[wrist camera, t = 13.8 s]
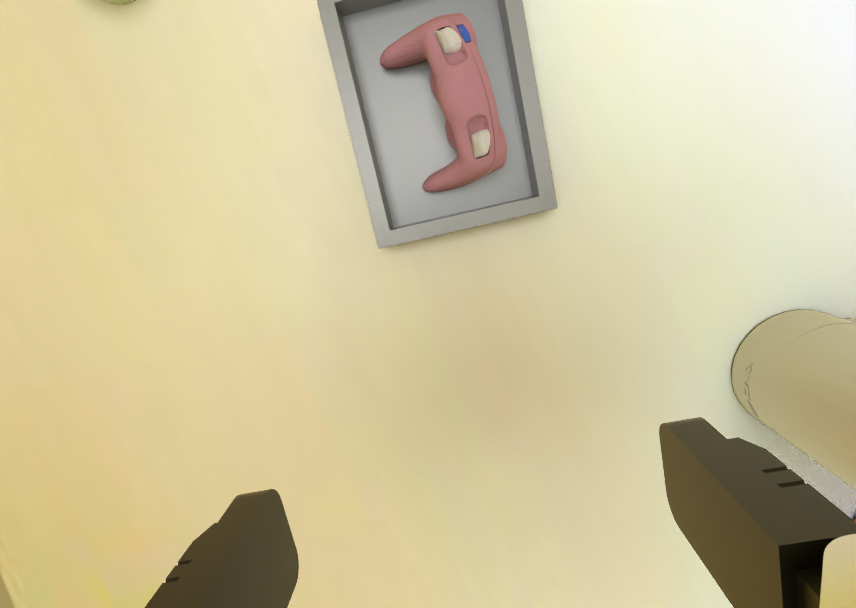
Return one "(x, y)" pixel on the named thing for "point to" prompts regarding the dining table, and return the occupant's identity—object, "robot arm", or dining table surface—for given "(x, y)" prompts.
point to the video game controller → (456, 96)
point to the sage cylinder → (120, 1)
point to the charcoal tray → (435, 117)
